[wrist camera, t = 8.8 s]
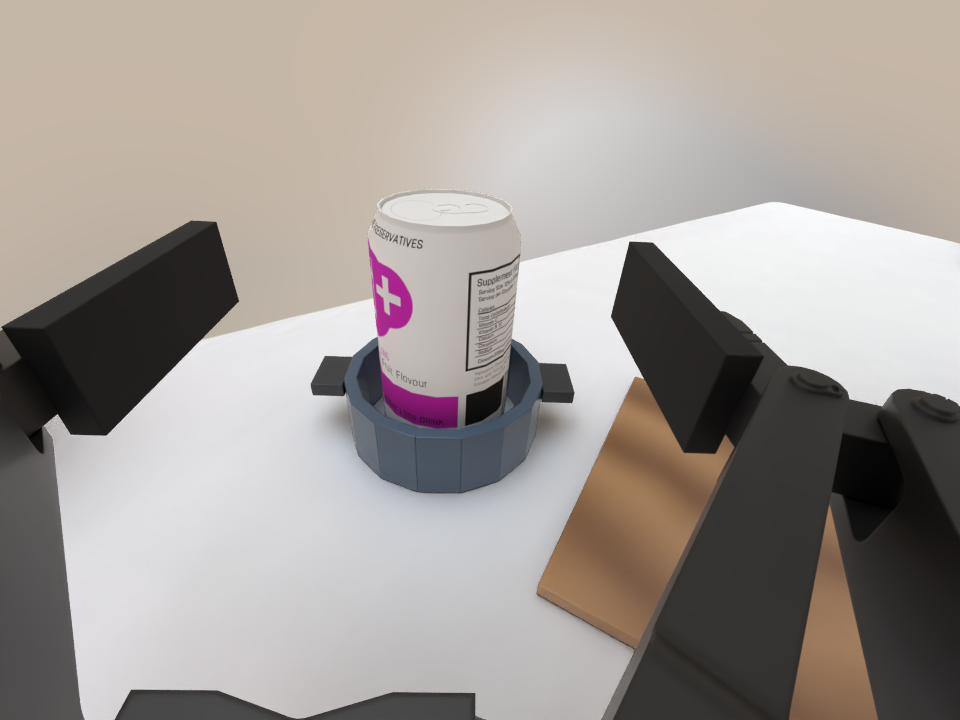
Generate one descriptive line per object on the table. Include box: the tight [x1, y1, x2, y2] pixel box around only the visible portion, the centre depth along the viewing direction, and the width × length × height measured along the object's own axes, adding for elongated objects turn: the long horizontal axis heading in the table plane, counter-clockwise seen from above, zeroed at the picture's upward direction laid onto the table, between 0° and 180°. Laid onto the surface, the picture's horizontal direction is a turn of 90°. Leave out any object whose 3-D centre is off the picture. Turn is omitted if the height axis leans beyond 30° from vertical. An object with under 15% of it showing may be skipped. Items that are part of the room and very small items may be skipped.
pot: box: [311, 337, 574, 493], centre depth 30 cm, size 13×17×4 cm
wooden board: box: [536, 377, 878, 720], centre depth 26 cm, size 20×15×1 cm
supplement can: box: [367, 189, 521, 429], centre depth 27 cm, size 8×8×15 cm
